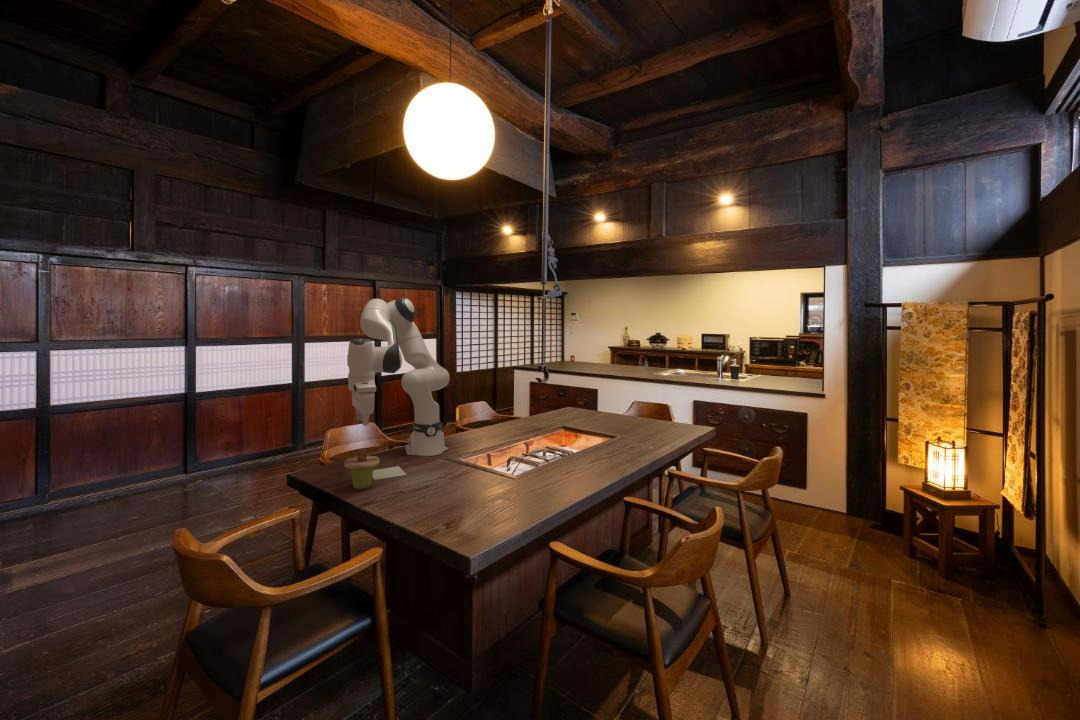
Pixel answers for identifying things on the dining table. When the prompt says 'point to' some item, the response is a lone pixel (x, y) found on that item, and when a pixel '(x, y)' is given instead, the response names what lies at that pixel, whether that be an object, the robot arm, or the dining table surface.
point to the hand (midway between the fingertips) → (362, 422)
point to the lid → (361, 461)
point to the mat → (387, 473)
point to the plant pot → (362, 477)
